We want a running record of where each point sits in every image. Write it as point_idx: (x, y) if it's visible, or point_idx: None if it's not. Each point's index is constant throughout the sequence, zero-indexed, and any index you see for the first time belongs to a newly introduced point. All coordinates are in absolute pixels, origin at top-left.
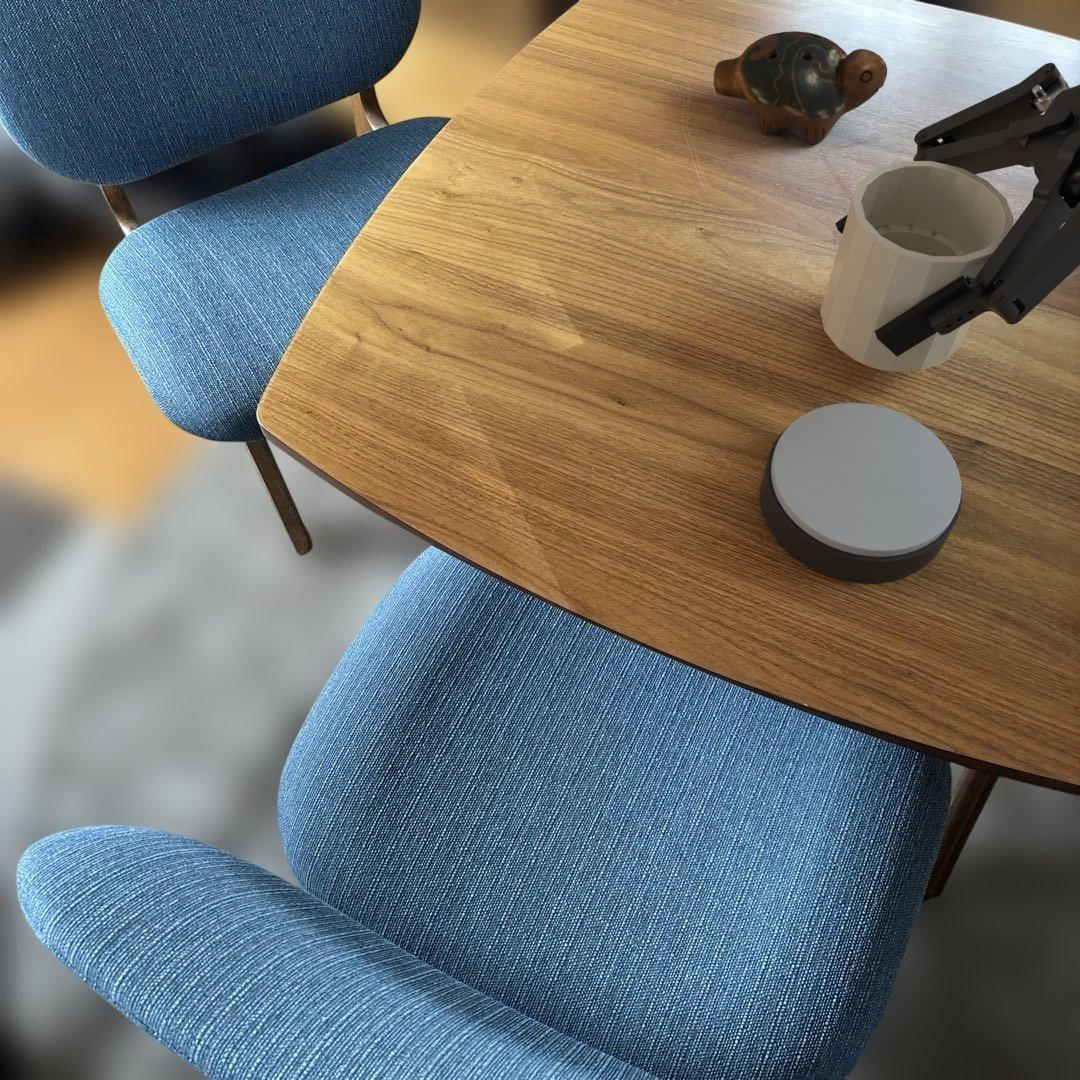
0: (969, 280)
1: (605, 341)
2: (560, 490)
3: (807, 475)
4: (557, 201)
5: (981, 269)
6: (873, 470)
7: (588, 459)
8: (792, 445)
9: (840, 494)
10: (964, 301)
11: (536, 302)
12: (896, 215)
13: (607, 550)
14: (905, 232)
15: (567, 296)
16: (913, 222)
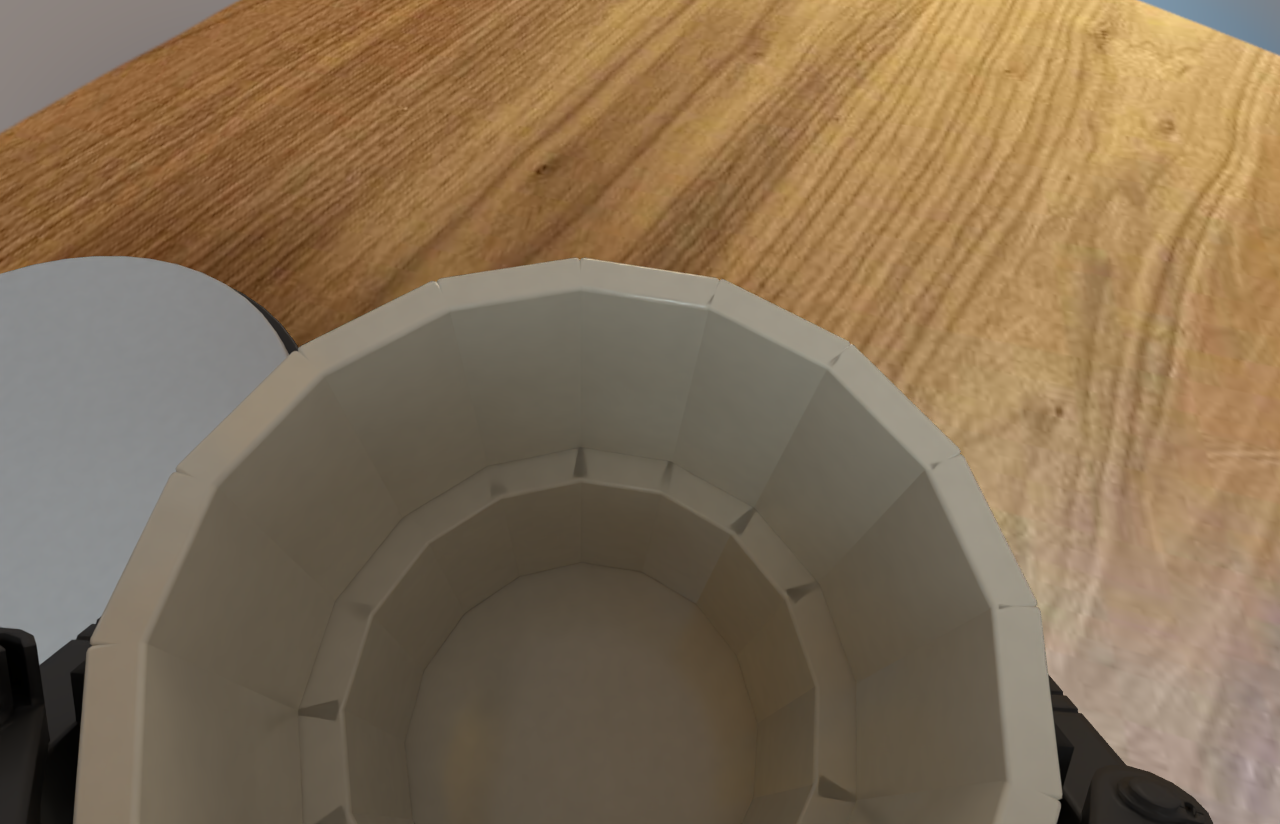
0: (26, 666)
1: (704, 176)
2: (377, 64)
3: (107, 316)
4: (1112, 174)
5: (37, 757)
6: (36, 463)
7: (427, 106)
8: (206, 311)
9: (13, 366)
10: (59, 684)
11: (817, 102)
12: (873, 709)
13: (230, 95)
14: (812, 760)
15: (831, 144)
16: (859, 808)
